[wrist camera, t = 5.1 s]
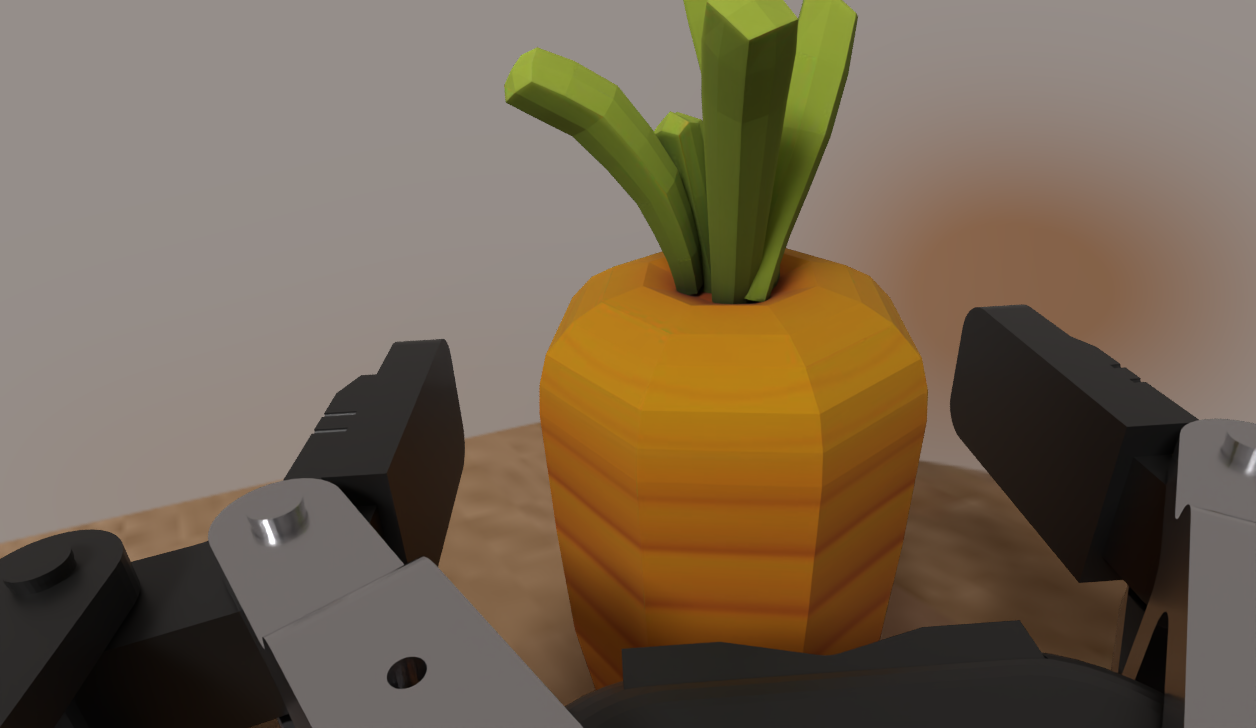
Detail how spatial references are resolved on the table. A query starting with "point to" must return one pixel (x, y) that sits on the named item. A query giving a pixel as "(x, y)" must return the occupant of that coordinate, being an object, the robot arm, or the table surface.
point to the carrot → (726, 364)
